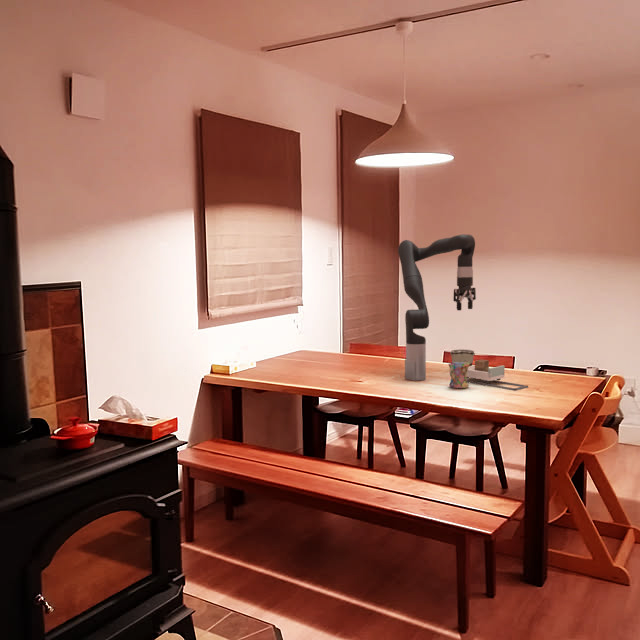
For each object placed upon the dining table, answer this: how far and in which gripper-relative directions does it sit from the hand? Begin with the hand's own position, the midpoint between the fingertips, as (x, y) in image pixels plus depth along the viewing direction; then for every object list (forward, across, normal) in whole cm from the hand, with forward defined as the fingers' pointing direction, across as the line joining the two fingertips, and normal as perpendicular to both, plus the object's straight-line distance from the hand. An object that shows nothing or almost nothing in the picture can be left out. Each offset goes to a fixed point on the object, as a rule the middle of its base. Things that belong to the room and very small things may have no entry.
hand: (464, 309), depth 311 cm
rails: (+32, +8, +21) cm, 39 cm away
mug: (+32, +26, +16) cm, 44 cm away
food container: (+32, -11, -10) cm, 36 cm away
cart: (+31, +8, +16) cm, 36 cm away
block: (+28, +8, +16) cm, 33 cm away
